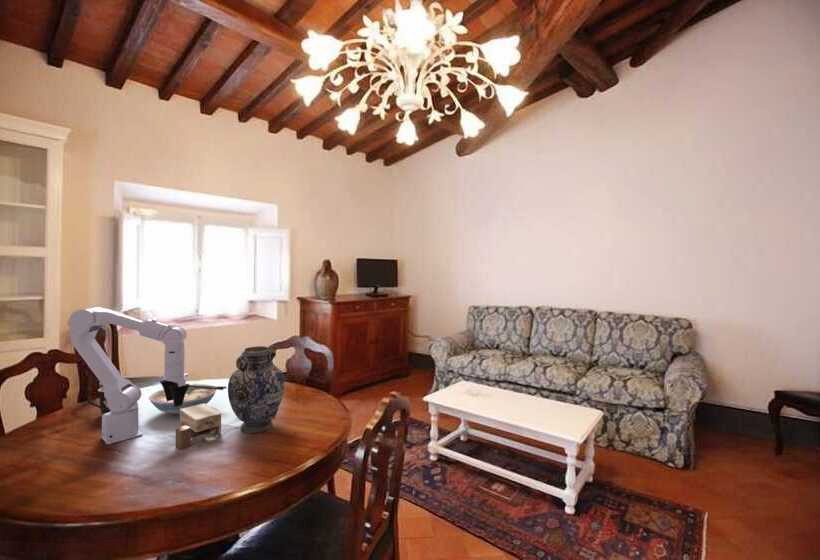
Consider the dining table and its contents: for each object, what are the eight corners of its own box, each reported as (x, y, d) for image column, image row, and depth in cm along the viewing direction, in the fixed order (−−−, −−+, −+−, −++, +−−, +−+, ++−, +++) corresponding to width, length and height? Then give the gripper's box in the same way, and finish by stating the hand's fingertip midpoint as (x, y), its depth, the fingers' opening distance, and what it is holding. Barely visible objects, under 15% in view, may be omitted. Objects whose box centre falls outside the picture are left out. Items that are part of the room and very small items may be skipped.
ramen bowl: (130, 419, 139) (130, 397, 139) (178, 399, 161) (178, 380, 161) (190, 425, 134) (190, 402, 134) (231, 403, 157) (231, 384, 157)
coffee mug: (132, 410, 148) (132, 385, 147) (113, 419, 139) (113, 392, 139) (105, 409, 149) (105, 383, 149) (84, 417, 140) (84, 390, 140)
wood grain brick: (181, 450, 116) (181, 430, 116) (175, 448, 118) (175, 429, 118) (217, 434, 128) (217, 417, 128) (212, 433, 129) (212, 415, 129)
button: (208, 443, 122) (208, 440, 122) (202, 439, 124) (202, 436, 124) (220, 439, 125) (220, 436, 125) (215, 436, 127) (215, 432, 127)
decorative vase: (263, 442, 122) (263, 355, 122) (212, 437, 126) (212, 353, 126) (296, 418, 143) (296, 343, 143) (251, 414, 147) (251, 341, 147)
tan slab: (196, 442, 122) (196, 420, 122) (179, 429, 132) (179, 409, 131) (222, 434, 128) (222, 413, 128) (204, 422, 138) (204, 403, 137)
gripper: (195, 364, 127) (195, 405, 127) (179, 357, 137) (179, 395, 137) (171, 368, 122) (171, 410, 122) (157, 360, 131) (157, 400, 132)
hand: (174, 402), depth 129 cm, fingers open, 7 cm apart
